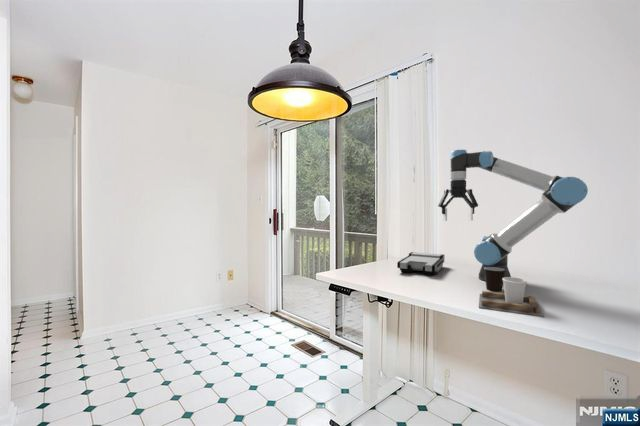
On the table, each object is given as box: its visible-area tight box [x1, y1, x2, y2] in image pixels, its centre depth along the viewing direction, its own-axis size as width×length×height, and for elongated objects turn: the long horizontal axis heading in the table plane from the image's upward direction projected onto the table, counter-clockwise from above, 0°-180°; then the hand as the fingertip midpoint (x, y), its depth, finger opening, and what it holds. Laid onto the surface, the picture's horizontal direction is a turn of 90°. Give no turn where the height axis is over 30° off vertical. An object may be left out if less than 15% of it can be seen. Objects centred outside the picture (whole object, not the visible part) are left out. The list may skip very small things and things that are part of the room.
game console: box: [396, 251, 445, 277], centre depth 189 cm, size 21×32×8 cm, turn 149°
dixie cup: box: [502, 276, 528, 304], centre depth 125 cm, size 8×8×10 cm
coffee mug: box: [484, 267, 505, 293], centre depth 147 cm, size 12×9×10 cm
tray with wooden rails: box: [478, 290, 545, 318], centre depth 126 cm, size 21×20×2 cm
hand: (457, 220), depth 163 cm, fingers open, 13 cm apart
